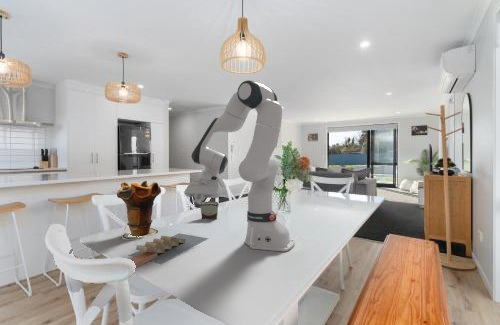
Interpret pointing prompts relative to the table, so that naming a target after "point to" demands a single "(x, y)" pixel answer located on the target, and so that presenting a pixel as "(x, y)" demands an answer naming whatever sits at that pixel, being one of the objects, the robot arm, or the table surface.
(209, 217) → the food container
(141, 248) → the domino
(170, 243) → the domino
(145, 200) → the decorative vase
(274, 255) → the table surface
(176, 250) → the mat
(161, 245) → the domino
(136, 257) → the domino
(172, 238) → the domino
